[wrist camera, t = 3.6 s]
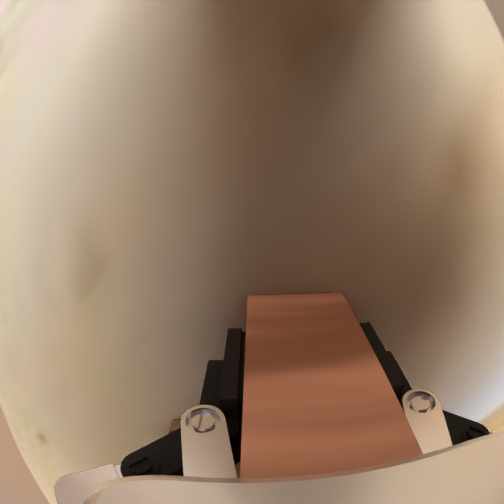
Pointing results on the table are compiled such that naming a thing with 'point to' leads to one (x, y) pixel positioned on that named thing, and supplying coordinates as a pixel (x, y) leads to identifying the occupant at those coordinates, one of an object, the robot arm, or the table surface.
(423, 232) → the table surface
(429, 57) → the table surface
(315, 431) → the salmon orange block
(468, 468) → the robot arm
